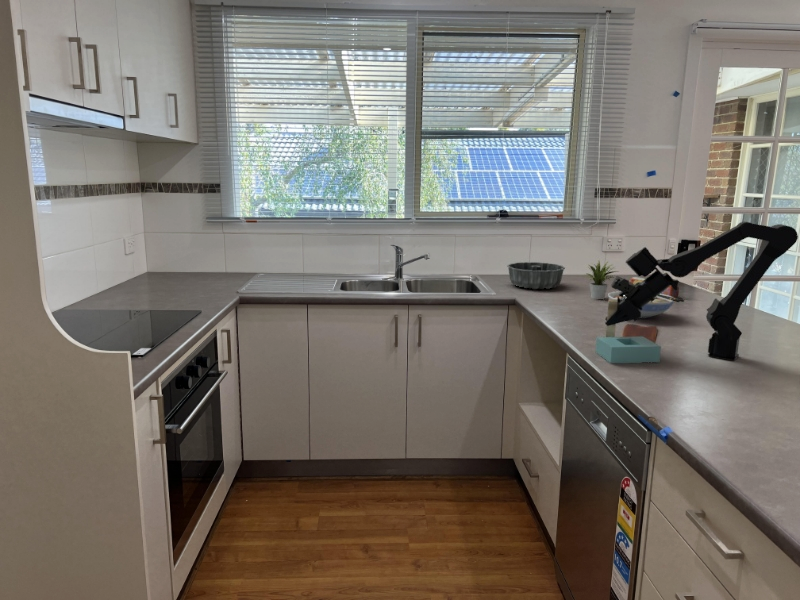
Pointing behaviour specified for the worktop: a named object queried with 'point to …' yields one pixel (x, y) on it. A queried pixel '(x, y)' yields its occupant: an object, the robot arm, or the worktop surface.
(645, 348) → the end cap
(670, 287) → the snack package
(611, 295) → the ramen bowl
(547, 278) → the bundt pan
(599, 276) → the house plant
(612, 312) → the slat
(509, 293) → the worktop surface
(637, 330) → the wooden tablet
